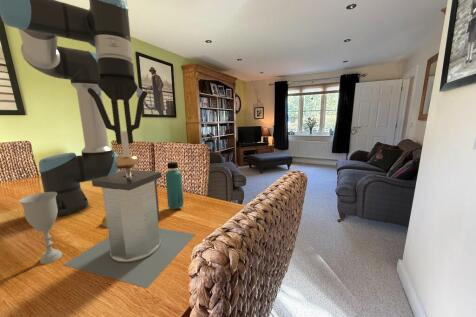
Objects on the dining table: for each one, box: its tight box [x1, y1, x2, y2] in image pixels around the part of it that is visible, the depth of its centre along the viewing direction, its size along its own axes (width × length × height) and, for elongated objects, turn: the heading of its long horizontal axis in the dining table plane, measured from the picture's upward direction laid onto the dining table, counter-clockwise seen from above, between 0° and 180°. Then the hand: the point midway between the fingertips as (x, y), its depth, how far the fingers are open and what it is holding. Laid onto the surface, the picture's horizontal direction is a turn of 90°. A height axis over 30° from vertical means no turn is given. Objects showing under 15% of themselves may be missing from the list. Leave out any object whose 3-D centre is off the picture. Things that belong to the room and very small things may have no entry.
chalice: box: [18, 191, 63, 265], centre depth 53 cm, size 7×7×18 cm
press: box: [91, 169, 162, 263], centre depth 58 cm, size 13×16×22 cm
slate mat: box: [63, 227, 197, 289], centre depth 58 cm, size 26×22×1 cm
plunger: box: [116, 155, 139, 178], centre depth 55 cm, size 9×9×23 cm
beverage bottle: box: [164, 161, 185, 209], centre depth 83 cm, size 6×7×20 cm
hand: (126, 156), depth 53 cm, fingers closed
